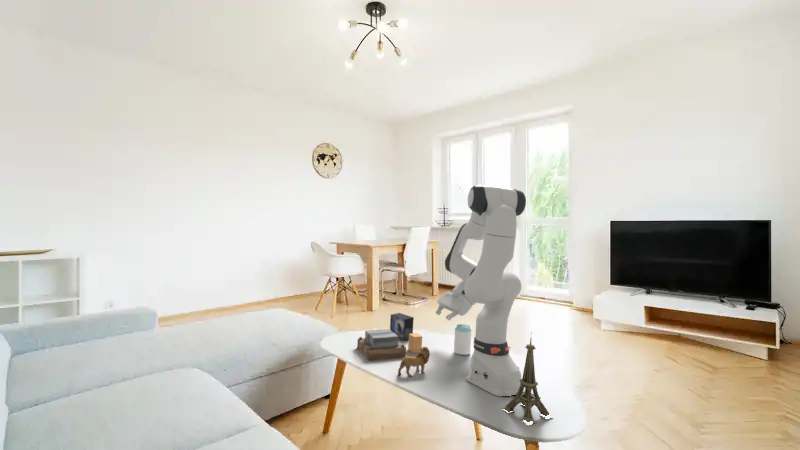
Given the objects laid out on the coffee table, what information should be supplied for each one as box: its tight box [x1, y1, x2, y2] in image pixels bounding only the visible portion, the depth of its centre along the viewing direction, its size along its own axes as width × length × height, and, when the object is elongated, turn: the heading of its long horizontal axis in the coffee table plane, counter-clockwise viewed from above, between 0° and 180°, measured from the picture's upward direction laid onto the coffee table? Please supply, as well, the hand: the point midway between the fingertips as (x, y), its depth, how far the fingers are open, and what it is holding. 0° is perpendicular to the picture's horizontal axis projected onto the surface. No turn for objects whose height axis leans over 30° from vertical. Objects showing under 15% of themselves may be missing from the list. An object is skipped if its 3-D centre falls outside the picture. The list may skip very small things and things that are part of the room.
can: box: [453, 323, 472, 356], centre depth 167 cm, size 7×7×12 cm
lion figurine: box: [397, 346, 431, 378], centre depth 142 cm, size 15×5×9 cm, turn 130°
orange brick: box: [407, 332, 423, 354], centre depth 167 cm, size 5×4×7 cm
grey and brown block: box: [356, 328, 407, 362], centre depth 163 cm, size 16×16×8 cm
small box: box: [389, 312, 414, 342], centre depth 186 cm, size 11×6×10 cm, turn 42°
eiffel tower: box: [502, 331, 550, 422], centre depth 115 cm, size 11×11×25 cm
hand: (442, 316), depth 172 cm, fingers open, 8 cm apart
